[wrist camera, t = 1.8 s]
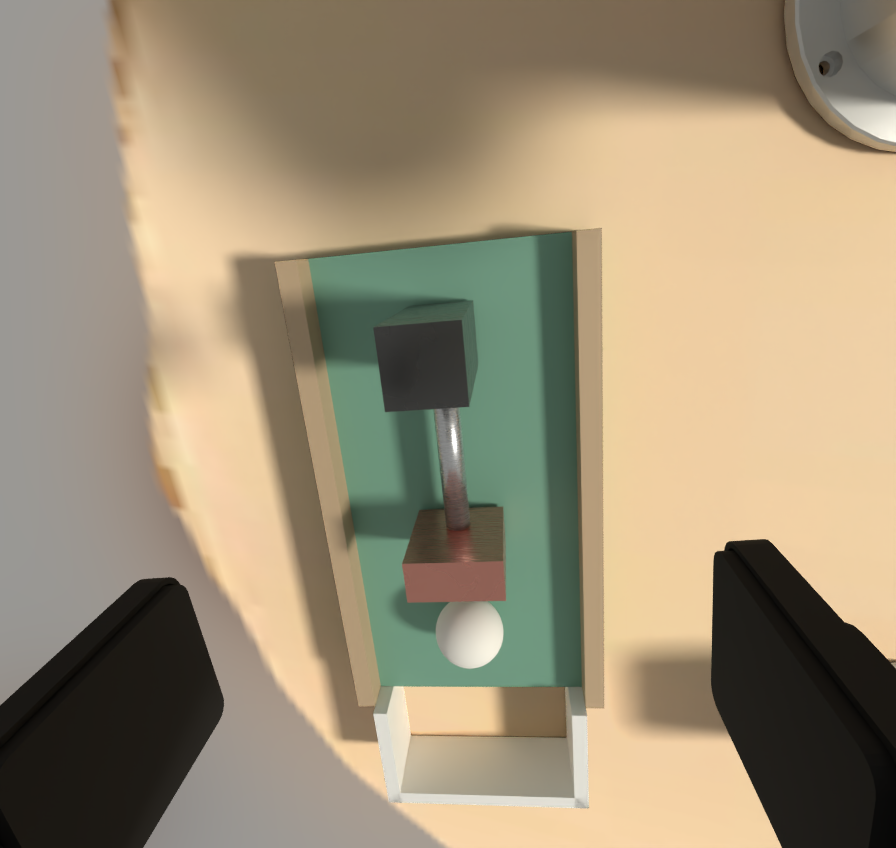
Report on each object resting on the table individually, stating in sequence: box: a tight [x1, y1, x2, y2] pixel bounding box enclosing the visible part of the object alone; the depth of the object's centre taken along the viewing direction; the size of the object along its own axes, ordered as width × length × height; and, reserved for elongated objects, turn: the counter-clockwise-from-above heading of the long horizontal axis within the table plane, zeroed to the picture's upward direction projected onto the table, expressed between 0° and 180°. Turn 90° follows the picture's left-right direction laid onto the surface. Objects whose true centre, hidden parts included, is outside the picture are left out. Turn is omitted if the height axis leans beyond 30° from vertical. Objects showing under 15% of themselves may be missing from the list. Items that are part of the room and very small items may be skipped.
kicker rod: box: [373, 300, 506, 603], centre depth 23 cm, size 12×4×7 cm, turn 6°
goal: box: [373, 686, 589, 808], centre depth 32 cm, size 7×12×4 cm, turn 96°
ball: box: [436, 601, 503, 669], centre depth 28 cm, size 4×4×4 cm
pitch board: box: [275, 228, 604, 708], centre depth 28 cm, size 25×14×4 cm, turn 6°
